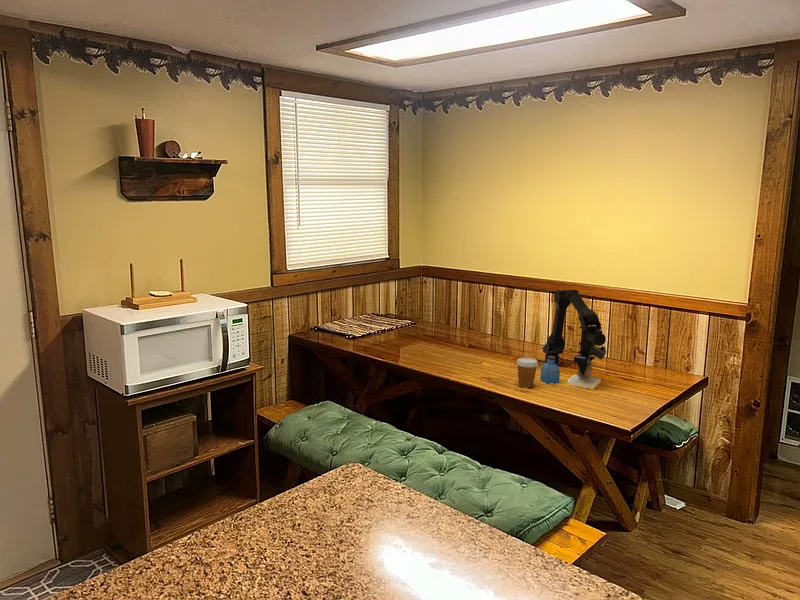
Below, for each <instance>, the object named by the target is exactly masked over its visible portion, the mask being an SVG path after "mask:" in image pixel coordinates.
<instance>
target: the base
mask: <svg viewBox="0 0 800 600" xmlns="http://www.w3.org/2000/svg"><path fill="white" fill-rule="evenodd" d="M577 376H578V373H576V374H573V375H572V376H571V377H569V379H568V380H567V381H566V385H567V384H571V385H576V386H583V387H590V388H595V387H596V385H598V384H599V382H600V383H601V381H602V380H601V378H598V377H596V376H591V377H590V378H589V379H588V378H582V377H577ZM599 385H600V384H599ZM599 385H598V386H599ZM596 388H597V387H596ZM596 388H595V389H596Z"/></svg>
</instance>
